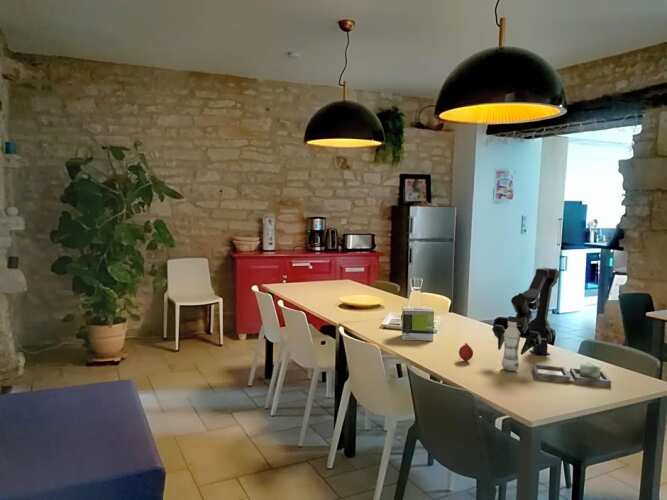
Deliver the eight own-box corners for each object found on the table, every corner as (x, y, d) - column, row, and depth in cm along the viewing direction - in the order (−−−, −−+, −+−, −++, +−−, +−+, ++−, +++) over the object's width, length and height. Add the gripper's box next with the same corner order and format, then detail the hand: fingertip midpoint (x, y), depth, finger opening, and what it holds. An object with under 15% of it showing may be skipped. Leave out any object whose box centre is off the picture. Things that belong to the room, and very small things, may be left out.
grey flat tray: (535, 379, 197) (536, 364, 196) (532, 370, 208) (533, 355, 208) (610, 387, 190) (611, 371, 189) (602, 377, 201) (604, 362, 201)
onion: (462, 358, 221) (463, 340, 221) (474, 361, 218) (475, 342, 217) (456, 361, 217) (457, 342, 216) (468, 364, 213) (469, 345, 213)
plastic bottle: (514, 367, 211) (517, 319, 209) (521, 373, 204) (524, 323, 202) (499, 367, 210) (501, 319, 209) (505, 372, 204) (508, 323, 202)
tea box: (431, 336, 258) (432, 307, 257) (433, 341, 248) (434, 311, 247) (401, 334, 260) (402, 306, 258) (401, 340, 250) (403, 310, 248)
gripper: (495, 305, 214) (482, 335, 207) (540, 312, 202) (529, 345, 195) (501, 321, 221) (489, 351, 213) (546, 328, 209) (535, 361, 201)
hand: (509, 351), depth 206 cm, fingers open, 9 cm apart
